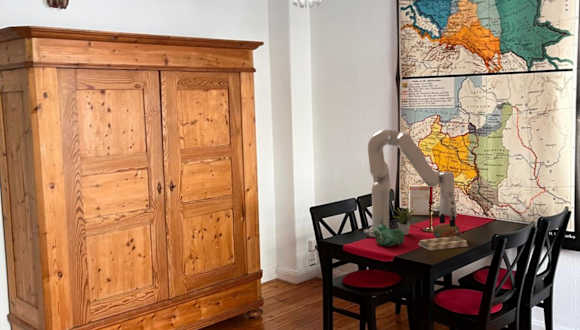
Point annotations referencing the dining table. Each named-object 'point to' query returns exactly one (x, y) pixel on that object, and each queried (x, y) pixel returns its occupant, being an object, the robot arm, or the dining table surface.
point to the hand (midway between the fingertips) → (447, 224)
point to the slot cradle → (443, 243)
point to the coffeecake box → (419, 199)
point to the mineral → (388, 236)
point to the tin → (445, 231)
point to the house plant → (404, 220)
